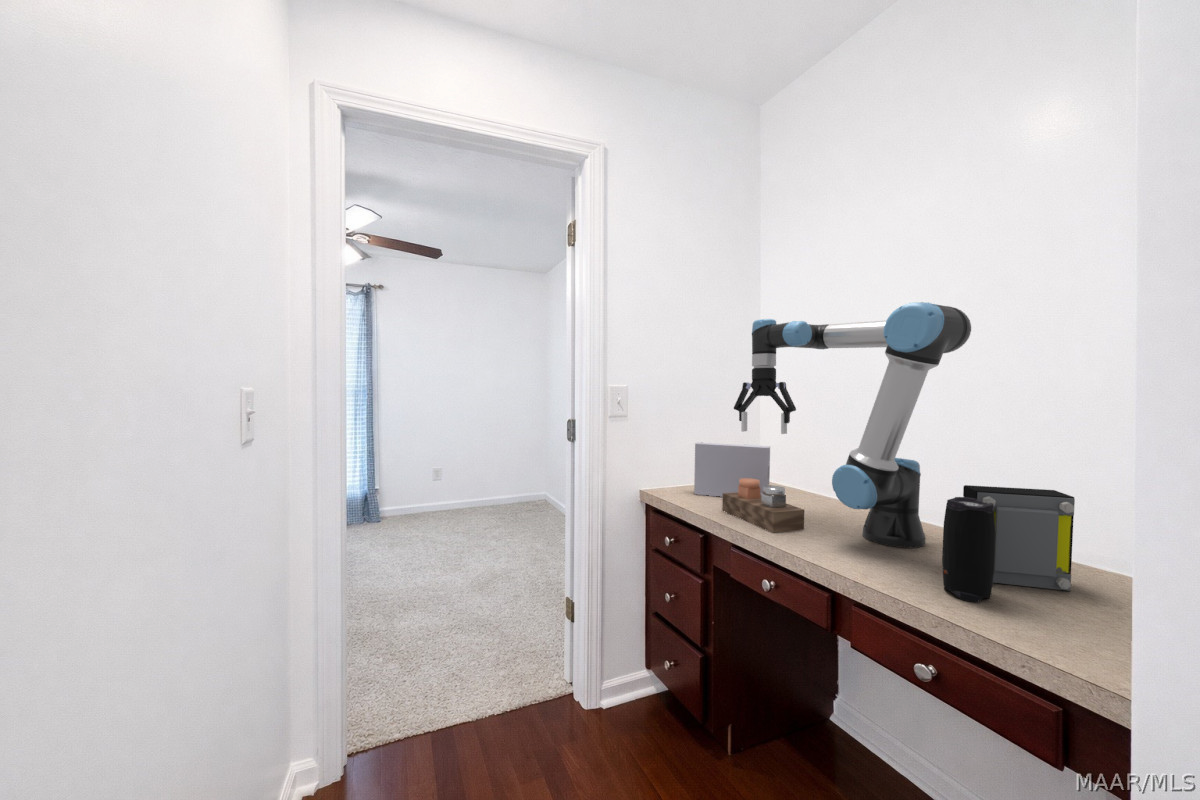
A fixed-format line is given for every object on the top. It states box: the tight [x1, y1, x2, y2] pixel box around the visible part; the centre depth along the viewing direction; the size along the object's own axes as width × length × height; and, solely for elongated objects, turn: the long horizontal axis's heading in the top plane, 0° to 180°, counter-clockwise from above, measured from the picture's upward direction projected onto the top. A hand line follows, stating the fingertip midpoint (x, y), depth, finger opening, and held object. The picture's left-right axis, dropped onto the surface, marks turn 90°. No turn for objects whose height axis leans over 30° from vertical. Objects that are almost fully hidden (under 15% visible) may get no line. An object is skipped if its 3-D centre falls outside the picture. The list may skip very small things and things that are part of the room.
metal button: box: [761, 484, 787, 508], centre depth 151 cm, size 6×6×6 cm
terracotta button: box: [738, 478, 761, 499], centre depth 162 cm, size 6×6×6 cm
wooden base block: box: [721, 492, 805, 534], centre depth 157 cm, size 26×11×6 cm, turn 19°
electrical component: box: [962, 484, 1076, 592], centre depth 109 cm, size 18×10×20 cm, turn 73°
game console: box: [693, 441, 771, 498], centre depth 188 cm, size 6×27×20 cm, turn 67°
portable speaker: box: [941, 496, 996, 603], centre depth 102 cm, size 9×9×20 cm
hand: (763, 432), depth 161 cm, fingers open, 13 cm apart
